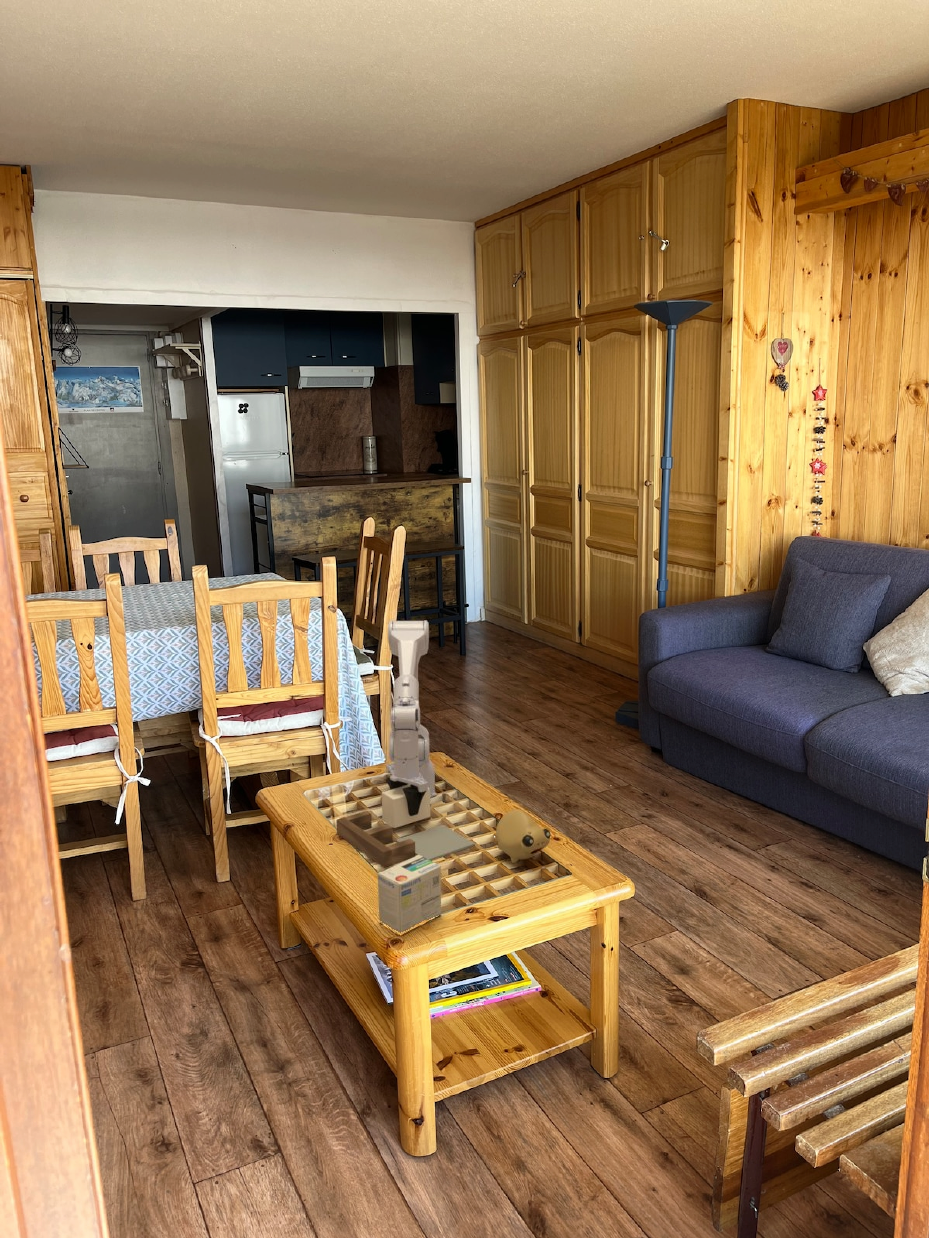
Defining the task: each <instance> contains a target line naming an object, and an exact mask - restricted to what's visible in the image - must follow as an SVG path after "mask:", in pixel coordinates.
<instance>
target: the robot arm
mask: <svg viewBox="0 0 929 1238" xmlns="http://www.w3.org/2000/svg"><path fill="white" fill-rule="evenodd" d="M429 633H430V627H429V622H428V620H427V619H426V620H391V619H390V621H389V622H388V626H387V643H388V646H389V651H390V653H391V655H394V656H395V657H398V667H399V676H398V677H397V678H396V679H395V680H394V682H393V702H392V703H393V706H392V707H391V710H390V727H391V730H390V732H389V740H388V756H389V757H388V758H389V760H390V761H391V763H389V764H386V765H385V773H387V774H391V775H390V776H389V777H386V779H385V782H386V784H387V785H388V787H389V790H392V789H395V788H398V787H402V786H405V785H409V784H411V785H410V787H407V788H403V792H404V794H405V796H406V799H407V804H408V812H409V815H410V816H414V815H417V814H418V812H419V808H420V804H421V801H422V798H423V796H424V794H425V793H426V791H427V790H428V788H430V798H432V797H435V796H437V792H436V791H435V790H436V787H435V786H436V785H435V784H436V781H435V780H436V776H435V775H436V774H435V772H436V771H435V767H434V764H433V762H432V761H431V759H430V733H429V731H428V729H427V727H425V726H424V725H422V724H421V709H420V700H419V697H420V695H419V694H420V693H419V692H420V690H419V689H420V688H419V687H420V685H419V684H420V682H419V663H420V659H421V657H422V656H424V655H426V654H428V650H429V642H430V641H429V639H430V637H429V636H430V634H429Z"/></svg>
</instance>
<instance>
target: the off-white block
mask: <svg viewBox="0 0 929 1238" xmlns="http://www.w3.org/2000/svg"><path fill="white" fill-rule="evenodd" d="M410 785H411V784H409V785H405V786H402V787H398V788H395V789H392V790H391V789H389V790H385V791H382V792H381V806H382V807H381V811H382V812H381V813H382V815H381V817H382V821H383V822H384V823H385V824H388V825H390V826H391V827H393V829H396V828H400V827H403V826H406V825H409V824H411V823H414V822H418V821H421V820H424V819H428V818H430V817H431V797H430V788H428V790H427V791H426V793H425V794H424V796H423V798H422V801H421V804H420V808H419V812H418V814H417V815H414V816H410V815H409V812H408V804H407V799H406V796H405V794H404V792H403V788H407V787H410Z"/></svg>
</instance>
